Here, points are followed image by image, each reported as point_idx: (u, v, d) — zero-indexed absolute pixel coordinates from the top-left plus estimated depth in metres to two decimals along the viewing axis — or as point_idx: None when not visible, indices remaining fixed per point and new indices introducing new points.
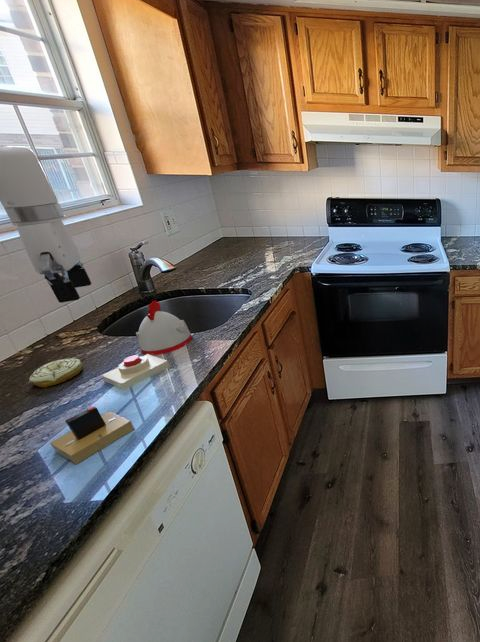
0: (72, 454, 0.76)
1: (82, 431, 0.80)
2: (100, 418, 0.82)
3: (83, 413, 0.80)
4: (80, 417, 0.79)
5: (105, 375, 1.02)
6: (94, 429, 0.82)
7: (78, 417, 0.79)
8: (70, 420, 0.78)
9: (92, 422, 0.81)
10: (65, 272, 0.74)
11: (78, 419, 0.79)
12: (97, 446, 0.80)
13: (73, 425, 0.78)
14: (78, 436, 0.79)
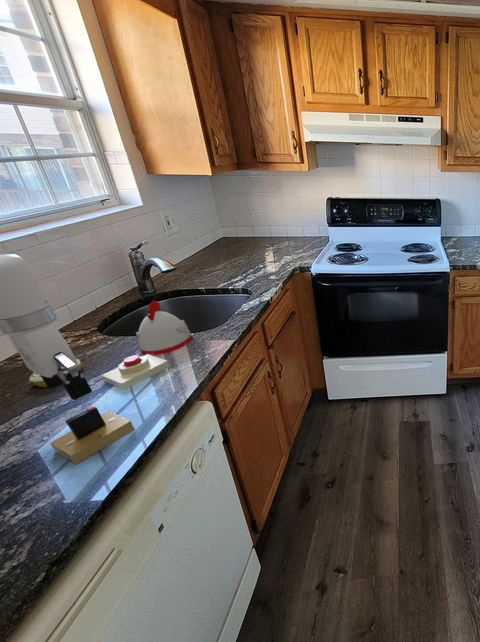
0: (72, 454, 0.76)
1: (82, 431, 0.80)
2: (100, 418, 0.82)
3: (83, 413, 0.80)
4: (80, 417, 0.79)
5: (105, 375, 1.02)
6: (94, 429, 0.82)
7: (78, 417, 0.79)
8: (70, 420, 0.78)
9: (92, 422, 0.81)
10: None
11: (78, 419, 0.79)
12: (97, 446, 0.80)
13: (73, 425, 0.78)
14: (78, 436, 0.79)
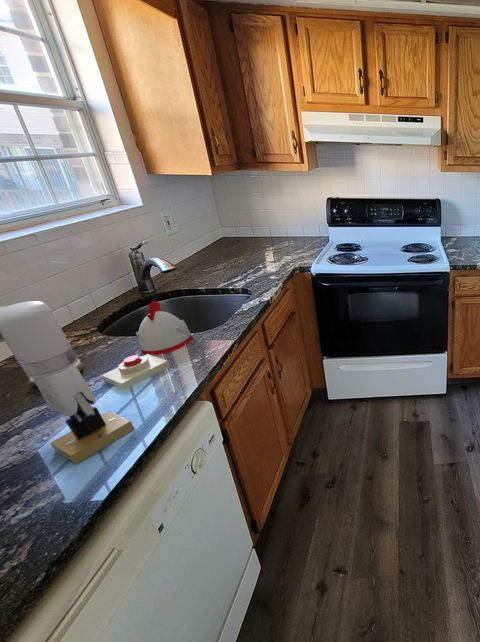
0: (72, 454, 0.76)
1: None
2: (100, 418, 0.82)
3: None
4: None
5: (105, 375, 1.02)
6: None
7: None
8: (70, 420, 0.78)
9: None
10: None
11: None
12: (97, 446, 0.80)
13: (73, 425, 0.78)
14: (78, 436, 0.79)
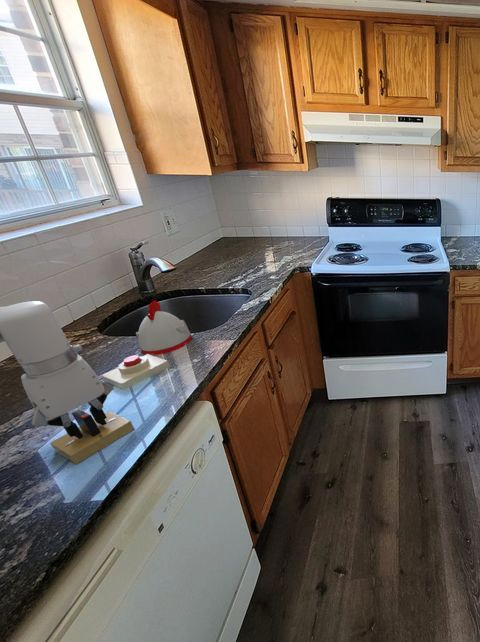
0: (72, 454, 0.76)
1: (81, 426, 0.81)
2: (88, 428, 0.79)
3: (80, 415, 0.79)
4: (76, 416, 0.79)
5: (105, 375, 1.02)
6: (87, 432, 0.81)
7: (75, 415, 0.79)
8: (74, 412, 0.80)
9: (84, 426, 0.80)
10: (64, 418, 0.76)
11: (75, 416, 0.80)
12: (97, 446, 0.80)
13: (75, 418, 0.80)
14: (80, 427, 0.82)
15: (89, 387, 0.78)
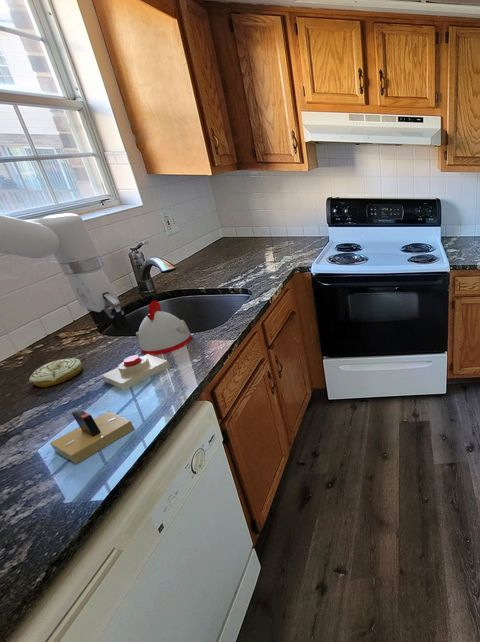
0: (72, 454, 0.76)
1: (81, 426, 0.81)
2: (88, 428, 0.79)
3: (80, 415, 0.79)
4: (76, 416, 0.79)
5: (105, 375, 1.02)
6: (87, 432, 0.81)
7: (75, 415, 0.79)
8: (74, 412, 0.80)
9: (84, 426, 0.80)
10: None
11: (75, 416, 0.80)
12: (97, 446, 0.80)
13: (75, 418, 0.80)
14: (80, 427, 0.82)
15: None
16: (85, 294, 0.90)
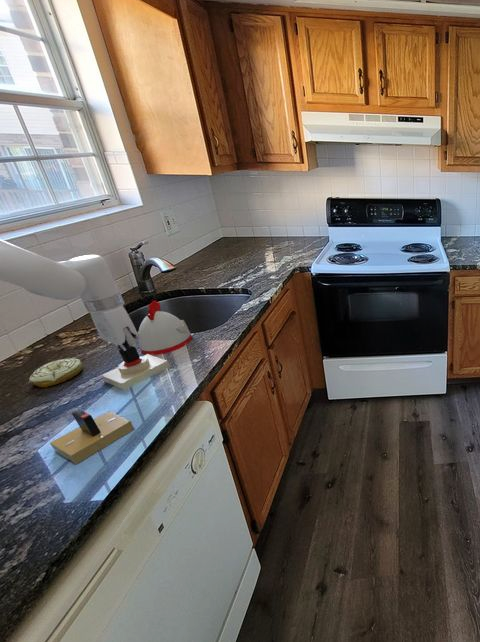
0: (72, 454, 0.76)
1: (81, 426, 0.81)
2: (88, 428, 0.79)
3: (80, 415, 0.79)
4: (76, 416, 0.79)
5: (105, 375, 1.02)
6: (87, 432, 0.81)
7: (75, 415, 0.79)
8: (74, 412, 0.80)
9: (84, 426, 0.80)
10: None
11: (75, 416, 0.80)
12: (97, 446, 0.80)
13: (75, 418, 0.80)
14: (80, 427, 0.82)
15: None
16: (107, 329, 0.96)
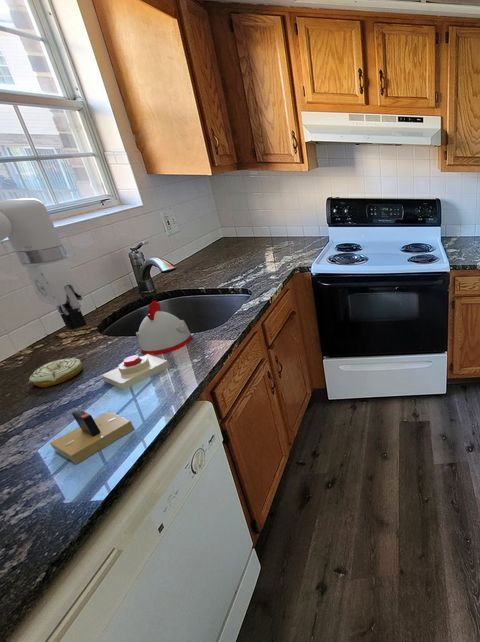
0: (72, 454, 0.76)
1: (81, 426, 0.81)
2: (88, 428, 0.79)
3: (80, 415, 0.79)
4: (76, 416, 0.79)
5: (105, 375, 1.02)
6: (87, 432, 0.81)
7: (75, 415, 0.79)
8: (74, 412, 0.80)
9: (84, 426, 0.80)
10: None
11: (75, 416, 0.80)
12: (97, 446, 0.80)
13: (75, 418, 0.80)
14: (80, 427, 0.82)
15: None
16: (44, 286, 0.82)
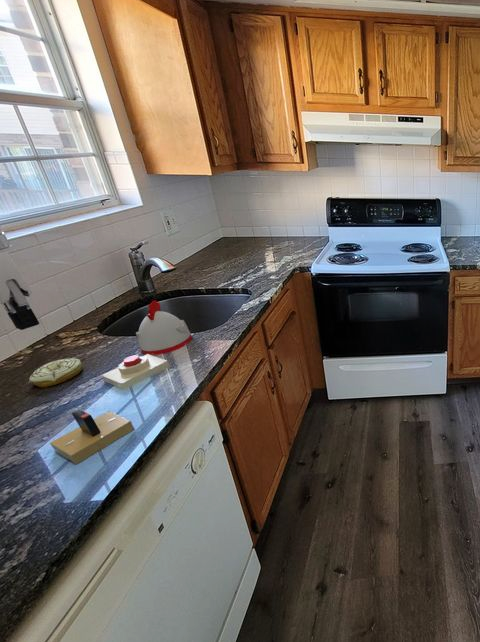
0: (72, 454, 0.76)
1: (81, 426, 0.81)
2: (88, 428, 0.79)
3: (80, 415, 0.79)
4: (76, 416, 0.79)
5: (105, 375, 1.02)
6: (87, 432, 0.81)
7: (75, 415, 0.79)
8: (74, 412, 0.80)
9: (84, 426, 0.80)
10: None
11: (75, 416, 0.80)
12: (97, 446, 0.80)
13: (75, 418, 0.80)
14: (80, 427, 0.82)
15: None
16: None
